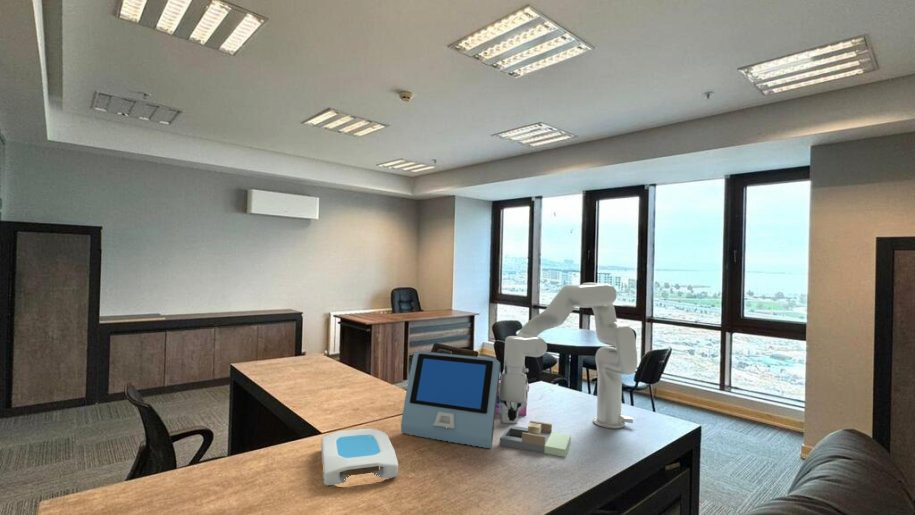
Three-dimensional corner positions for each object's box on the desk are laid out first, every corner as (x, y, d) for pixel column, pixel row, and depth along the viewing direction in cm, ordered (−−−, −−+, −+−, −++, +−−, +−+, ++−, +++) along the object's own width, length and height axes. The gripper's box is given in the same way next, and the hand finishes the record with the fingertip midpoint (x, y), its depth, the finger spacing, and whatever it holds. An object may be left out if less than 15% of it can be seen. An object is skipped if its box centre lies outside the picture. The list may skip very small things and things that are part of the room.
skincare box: (503, 423, 178) (504, 393, 178) (501, 419, 182) (501, 390, 182) (518, 423, 178) (519, 393, 179) (515, 419, 183) (516, 390, 183)
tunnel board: (570, 441, 160) (570, 426, 161) (565, 456, 147) (565, 440, 148) (509, 431, 169) (510, 417, 169) (499, 445, 156) (500, 429, 156)
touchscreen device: (398, 436, 162) (402, 354, 163) (420, 421, 180) (423, 347, 182) (489, 451, 150) (492, 363, 152) (503, 434, 168) (505, 355, 170)
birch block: (541, 435, 160) (541, 424, 160) (538, 439, 156) (539, 427, 156) (530, 433, 161) (530, 422, 161) (527, 437, 157) (528, 426, 157)
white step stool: (323, 491, 122) (324, 468, 122) (321, 450, 148) (321, 432, 148) (398, 481, 128) (399, 459, 129) (383, 444, 155) (383, 426, 155)
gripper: (536, 370, 163) (534, 420, 162) (497, 365, 168) (495, 413, 168) (531, 374, 156) (529, 426, 155) (491, 369, 161) (489, 419, 161)
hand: (512, 419), depth 161 cm, fingers closed
